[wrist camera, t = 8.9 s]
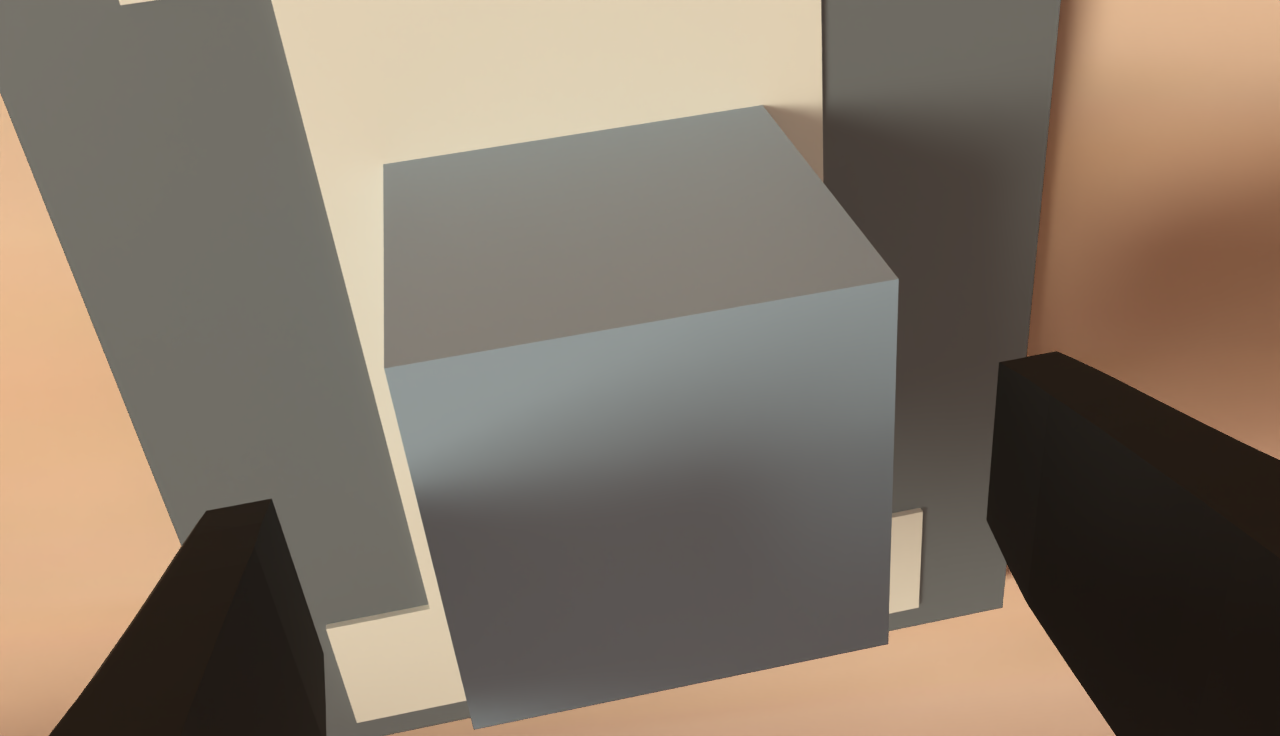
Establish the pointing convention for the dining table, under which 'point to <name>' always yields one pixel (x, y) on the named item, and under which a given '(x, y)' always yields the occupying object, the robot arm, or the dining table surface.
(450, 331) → the slate cube
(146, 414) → the letter card
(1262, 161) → the dining table surface
